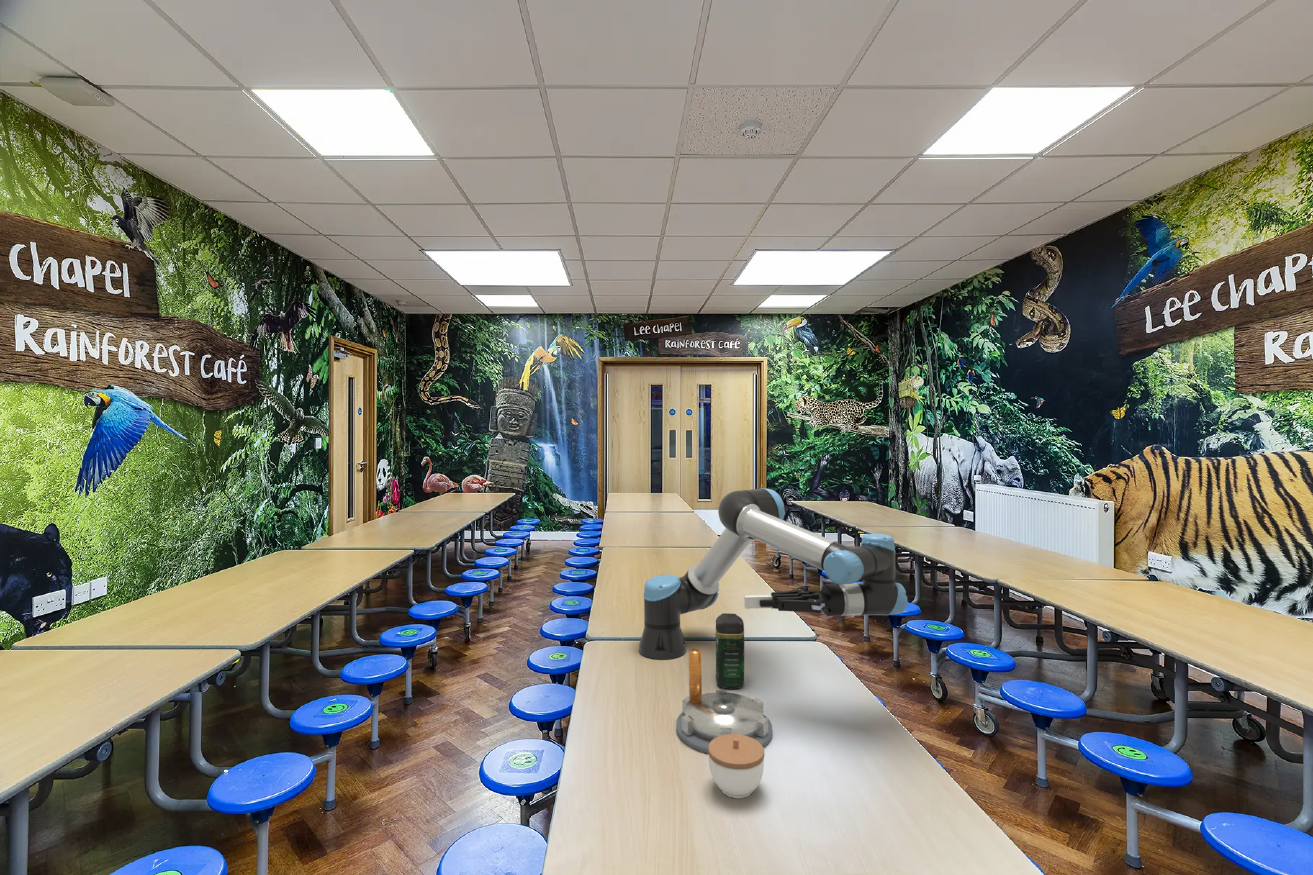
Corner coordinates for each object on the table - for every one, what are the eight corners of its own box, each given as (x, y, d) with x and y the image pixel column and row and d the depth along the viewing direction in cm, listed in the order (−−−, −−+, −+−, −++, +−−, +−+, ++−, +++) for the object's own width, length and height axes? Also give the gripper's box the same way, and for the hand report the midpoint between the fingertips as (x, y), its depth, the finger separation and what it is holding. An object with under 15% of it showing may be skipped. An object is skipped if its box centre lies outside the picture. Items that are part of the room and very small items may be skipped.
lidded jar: (726, 812, 99) (726, 759, 99) (698, 780, 109) (698, 732, 109) (776, 797, 104) (775, 746, 104) (745, 767, 113) (744, 721, 114)
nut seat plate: (657, 726, 130) (657, 719, 130) (723, 699, 144) (723, 693, 144) (724, 768, 113) (724, 760, 113) (792, 733, 127) (792, 725, 127)
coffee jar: (746, 690, 149) (745, 621, 149) (716, 690, 149) (716, 621, 150) (742, 675, 159) (742, 610, 159) (715, 675, 159) (714, 610, 160)
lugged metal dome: (781, 716, 131) (780, 652, 131) (747, 754, 115) (747, 681, 115) (704, 695, 142) (703, 637, 142) (663, 727, 126) (663, 661, 126)
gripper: (851, 623, 129) (751, 626, 127) (830, 607, 142) (739, 609, 140) (851, 591, 129) (751, 593, 128) (830, 578, 142) (739, 580, 141)
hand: (745, 602), depth 134 cm, fingers closed
